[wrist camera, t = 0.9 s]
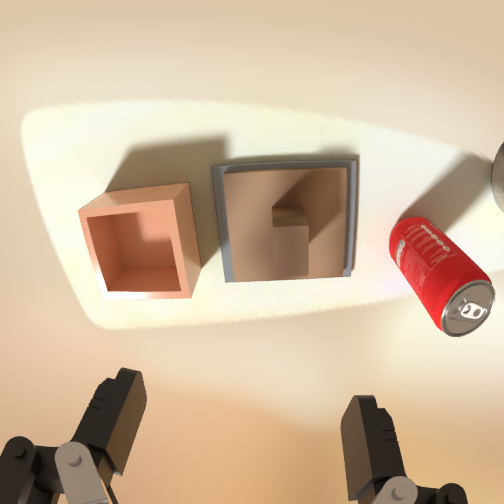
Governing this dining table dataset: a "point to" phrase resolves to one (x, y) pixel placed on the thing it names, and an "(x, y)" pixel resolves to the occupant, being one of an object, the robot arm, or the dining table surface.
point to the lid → (286, 223)
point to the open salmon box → (143, 242)
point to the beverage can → (442, 276)
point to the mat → (219, 170)
